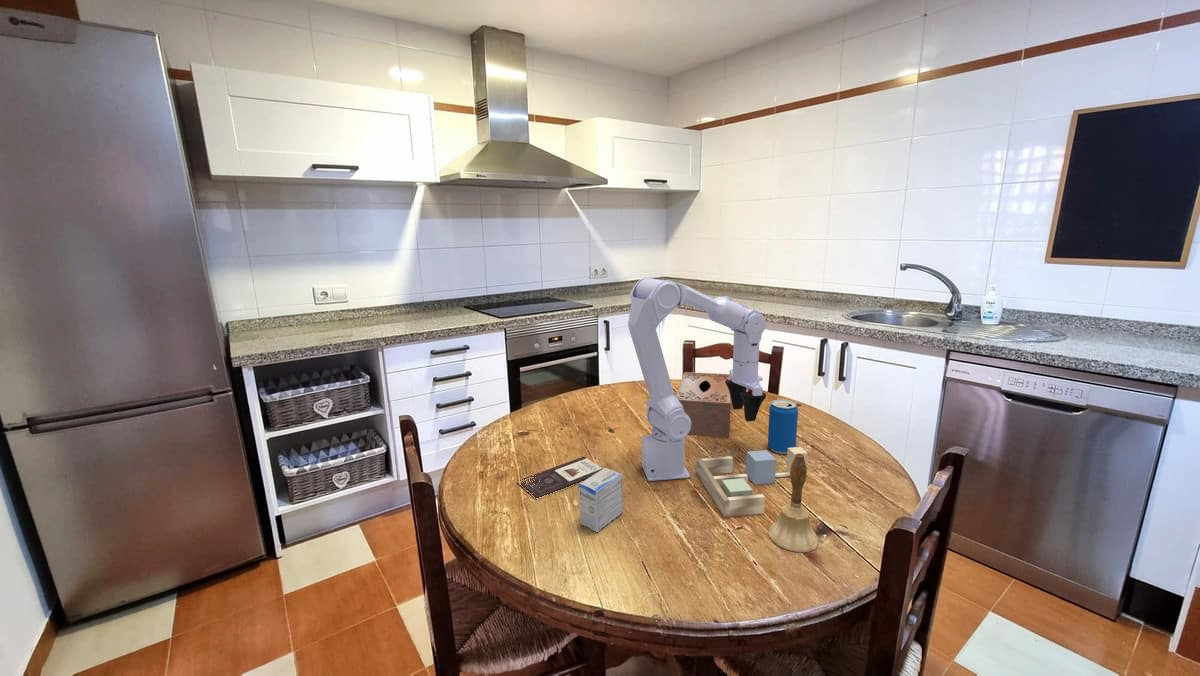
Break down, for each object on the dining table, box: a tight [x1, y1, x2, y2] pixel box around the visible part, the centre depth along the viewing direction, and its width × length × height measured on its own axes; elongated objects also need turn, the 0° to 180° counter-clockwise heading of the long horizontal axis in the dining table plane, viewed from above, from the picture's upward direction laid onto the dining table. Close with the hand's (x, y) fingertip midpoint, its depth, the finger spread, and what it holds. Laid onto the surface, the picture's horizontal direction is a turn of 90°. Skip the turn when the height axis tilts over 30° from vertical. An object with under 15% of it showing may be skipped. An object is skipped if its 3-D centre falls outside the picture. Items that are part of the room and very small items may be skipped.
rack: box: [696, 456, 766, 518], centre depth 98 cm, size 8×17×4 cm, turn 6°
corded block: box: [745, 446, 809, 486], centre depth 103 cm, size 12×4×6 cm, turn 96°
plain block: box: [722, 478, 754, 497], centre depth 94 cm, size 4×4×4 cm
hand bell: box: [767, 453, 820, 554], centre depth 81 cm, size 8×8×16 cm
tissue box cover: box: [675, 371, 732, 439], centre depth 136 cm, size 26×14×10 cm, turn 164°
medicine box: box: [578, 467, 624, 533], centre depth 89 cm, size 8×4×9 cm, turn 141°
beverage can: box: [767, 399, 799, 455], centre depth 115 cm, size 6×6×12 cm
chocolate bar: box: [517, 456, 604, 498], centre depth 106 cm, size 9×1×18 cm
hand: (743, 414), depth 113 cm, fingers open, 7 cm apart
